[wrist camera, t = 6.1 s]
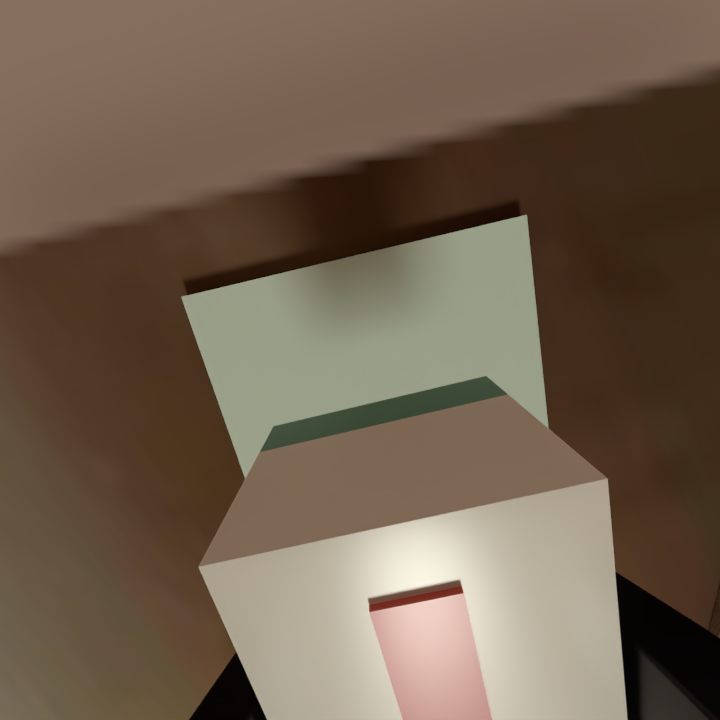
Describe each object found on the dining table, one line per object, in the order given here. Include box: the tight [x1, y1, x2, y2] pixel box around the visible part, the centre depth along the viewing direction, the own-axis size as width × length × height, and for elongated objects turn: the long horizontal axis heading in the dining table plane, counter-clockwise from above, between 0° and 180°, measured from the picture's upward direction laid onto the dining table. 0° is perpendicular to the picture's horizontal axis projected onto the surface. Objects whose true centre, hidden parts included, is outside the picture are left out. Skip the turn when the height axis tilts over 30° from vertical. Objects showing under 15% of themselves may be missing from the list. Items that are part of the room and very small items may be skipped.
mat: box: [181, 215, 548, 479], centre depth 17 cm, size 15×14×1 cm
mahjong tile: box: [199, 376, 628, 720], centre depth 7 cm, size 7×5×4 cm
